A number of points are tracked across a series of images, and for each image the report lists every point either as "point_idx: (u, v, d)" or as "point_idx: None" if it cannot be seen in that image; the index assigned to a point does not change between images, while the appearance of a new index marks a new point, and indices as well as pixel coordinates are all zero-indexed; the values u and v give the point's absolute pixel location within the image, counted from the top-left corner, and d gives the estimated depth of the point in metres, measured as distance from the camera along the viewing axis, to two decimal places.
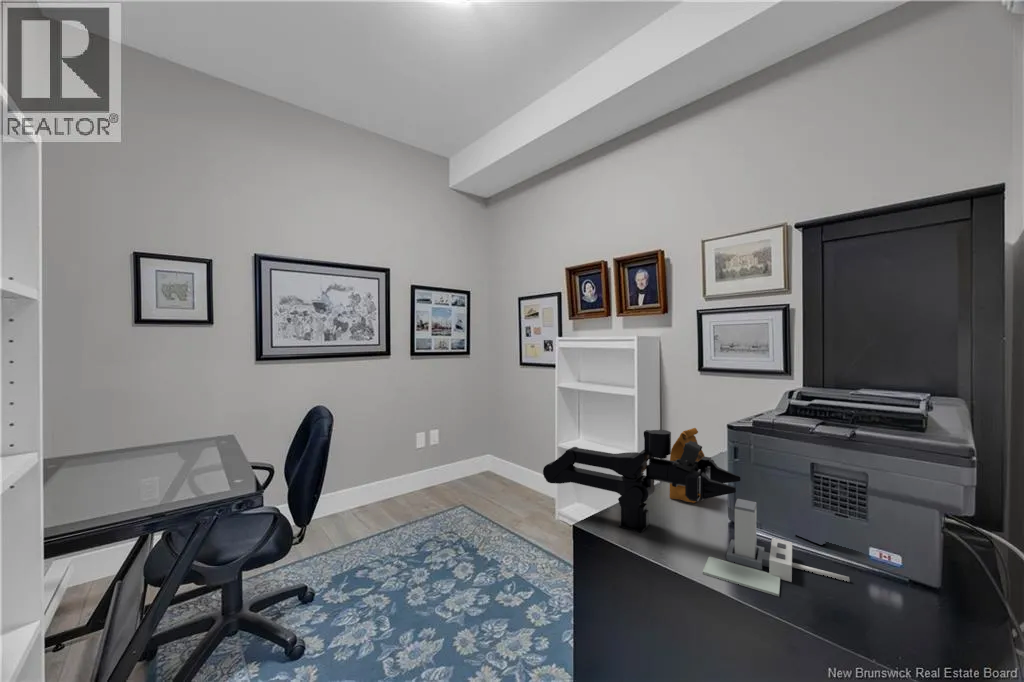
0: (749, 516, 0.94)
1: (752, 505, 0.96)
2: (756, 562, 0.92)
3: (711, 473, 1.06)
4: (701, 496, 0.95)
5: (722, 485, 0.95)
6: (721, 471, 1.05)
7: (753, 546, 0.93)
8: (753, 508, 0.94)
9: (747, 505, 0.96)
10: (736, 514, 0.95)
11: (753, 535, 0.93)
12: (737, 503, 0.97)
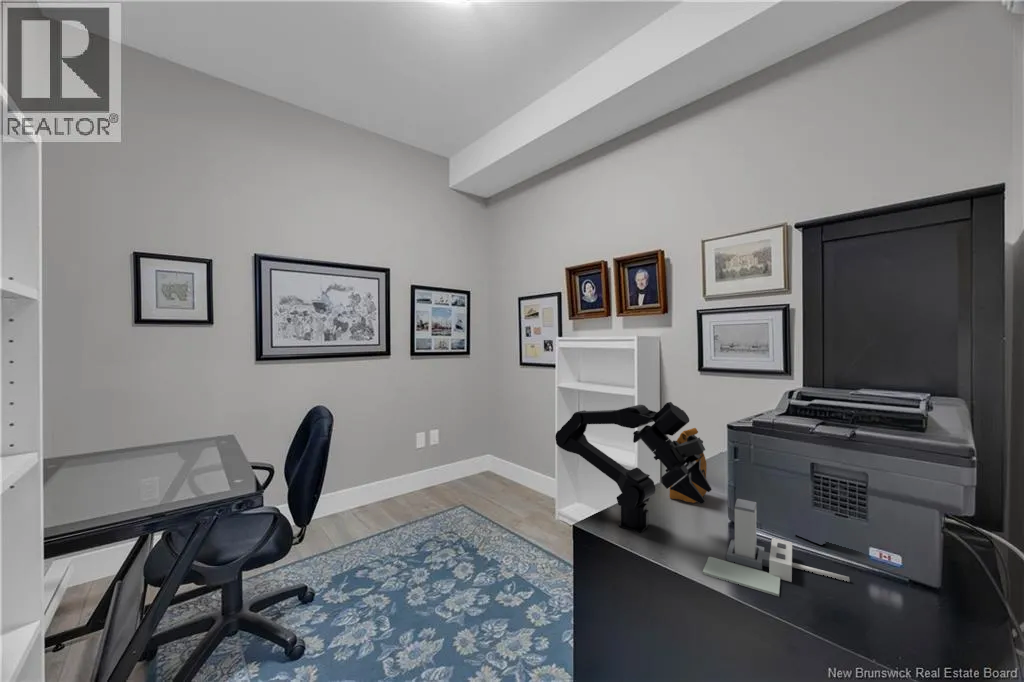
0: (749, 516, 0.94)
1: (752, 505, 0.96)
2: (756, 562, 0.92)
3: (690, 468, 1.08)
4: (673, 487, 0.98)
5: (696, 492, 0.98)
6: (700, 474, 1.07)
7: (753, 546, 0.93)
8: (753, 508, 0.94)
9: (747, 505, 0.96)
10: (736, 514, 0.95)
11: (753, 535, 0.93)
12: (737, 503, 0.97)
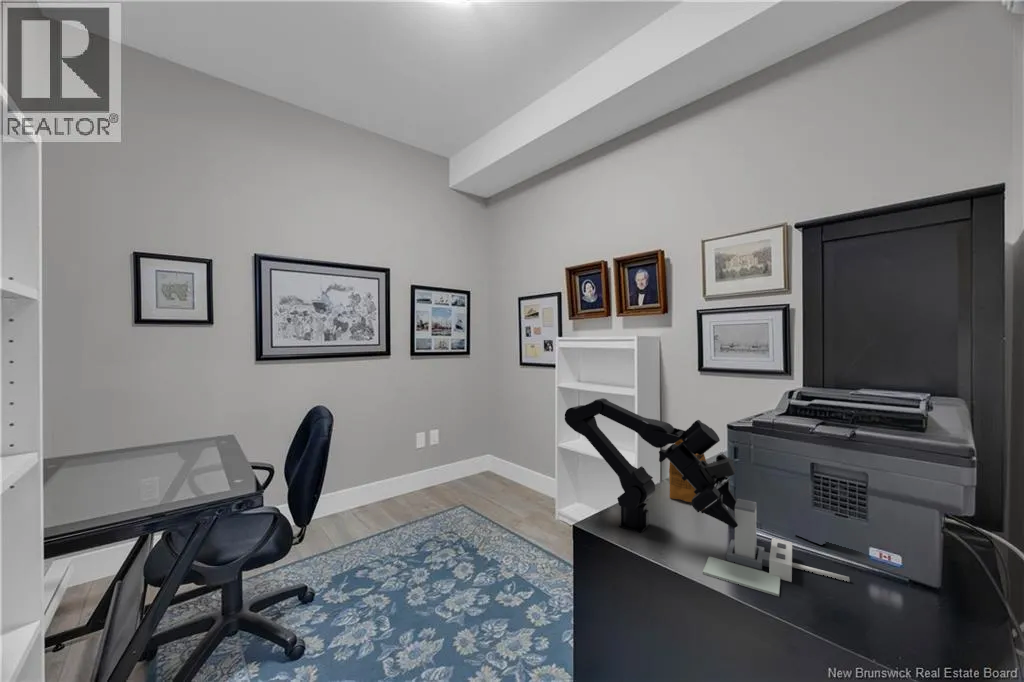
0: (749, 516, 0.94)
1: (752, 505, 0.96)
2: (756, 562, 0.92)
3: (719, 489, 1.04)
4: (704, 511, 0.94)
5: (729, 515, 0.94)
6: (730, 495, 1.03)
7: (753, 546, 0.93)
8: (753, 508, 0.94)
9: (747, 505, 0.96)
10: (736, 514, 0.95)
11: (753, 535, 0.93)
12: (737, 503, 0.97)
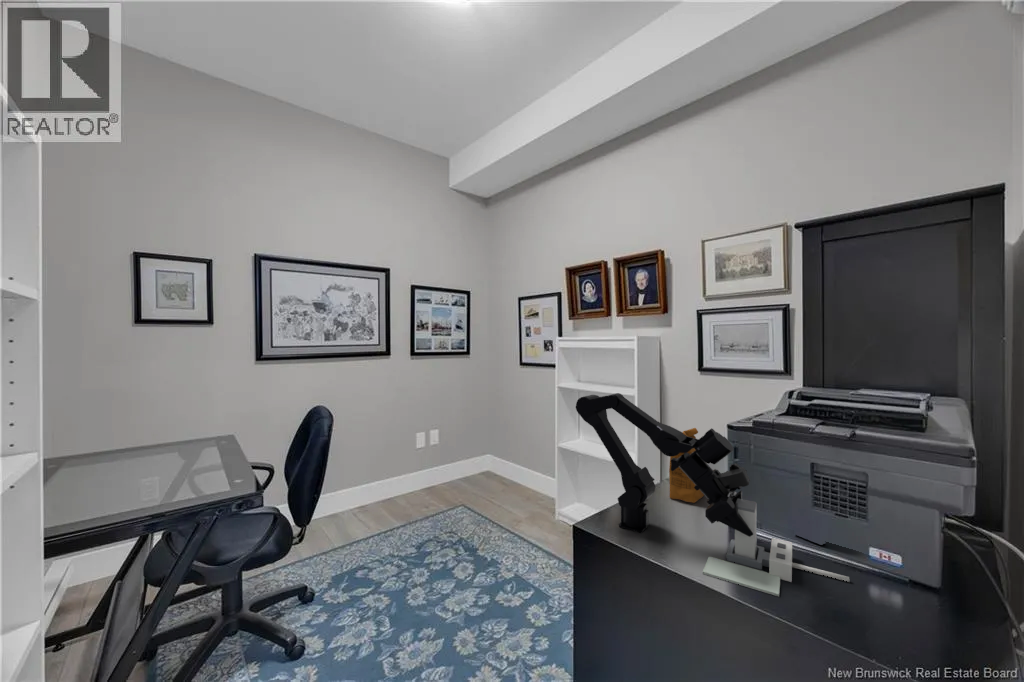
0: (749, 516, 0.94)
1: (752, 505, 0.96)
2: (756, 562, 0.92)
3: (731, 501, 1.01)
4: (719, 519, 0.94)
5: (744, 524, 0.93)
6: None
7: (753, 546, 0.93)
8: (753, 508, 0.94)
9: (747, 504, 0.96)
10: None
11: (753, 535, 0.93)
12: None
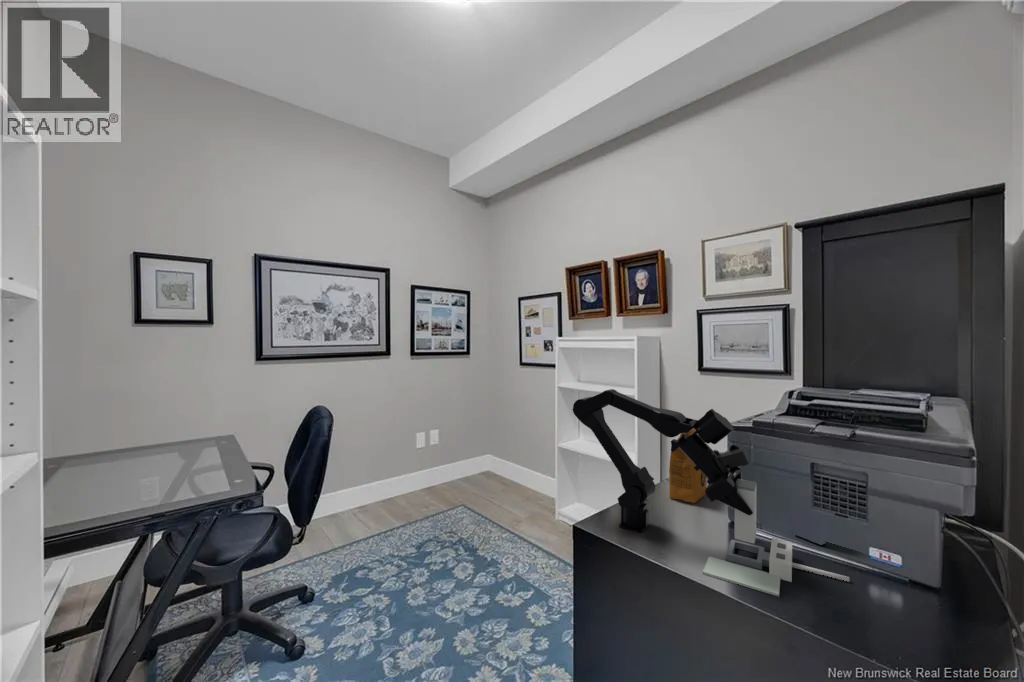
0: (749, 495, 0.94)
1: (752, 484, 0.96)
2: (756, 562, 0.92)
3: None
4: (719, 498, 0.94)
5: (744, 503, 0.93)
6: None
7: (753, 525, 0.93)
8: (753, 487, 0.94)
9: (747, 484, 0.96)
10: None
11: (753, 514, 0.93)
12: None
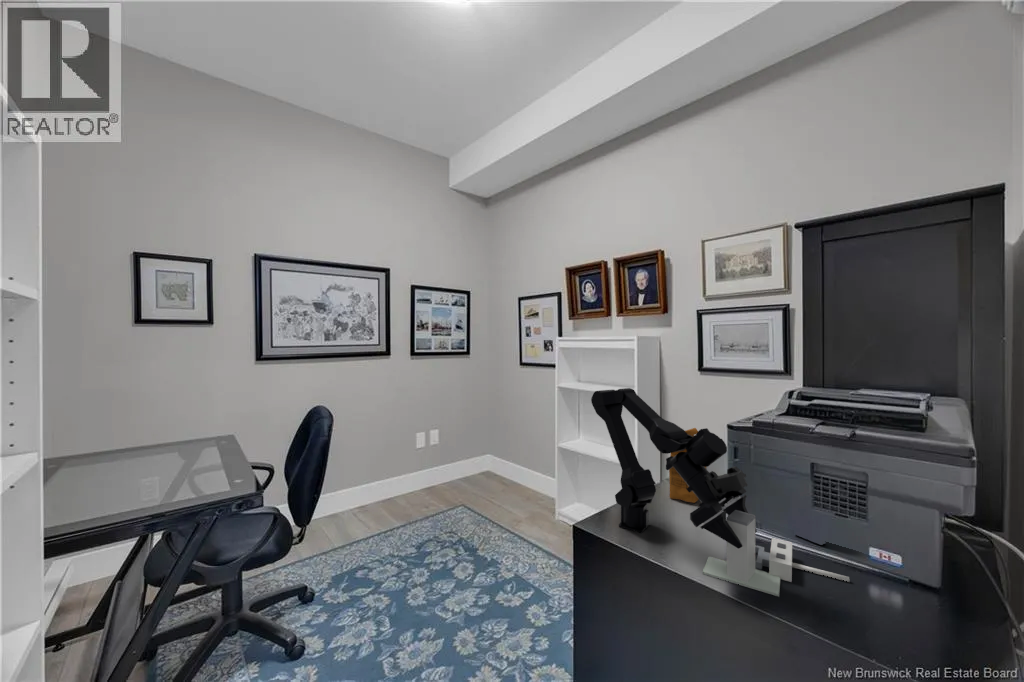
0: (741, 529, 0.86)
1: (748, 517, 0.88)
2: (756, 562, 0.92)
3: (733, 505, 0.95)
4: (703, 526, 0.87)
5: (732, 534, 0.85)
6: None
7: (746, 562, 0.86)
8: (747, 521, 0.86)
9: (742, 517, 0.88)
10: None
11: (746, 550, 0.86)
12: (731, 514, 0.90)
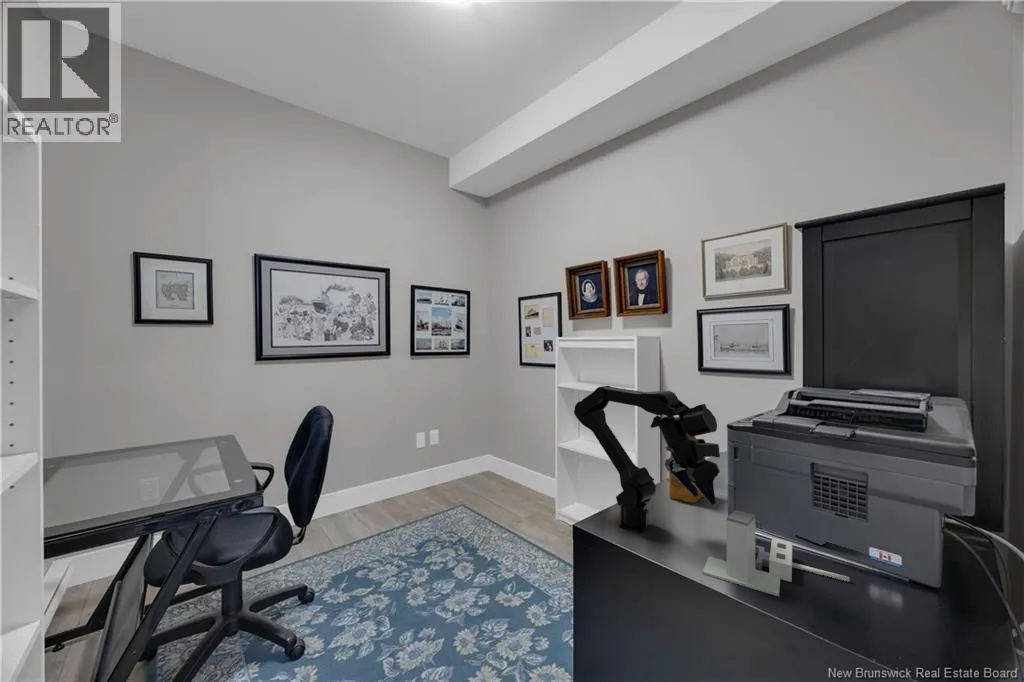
0: (741, 529, 0.86)
1: (748, 517, 0.88)
2: (756, 562, 0.92)
3: (684, 470, 1.07)
4: (700, 482, 0.94)
5: (713, 492, 0.96)
6: None
7: (746, 562, 0.86)
8: (747, 521, 0.86)
9: (742, 517, 0.88)
10: (728, 526, 0.88)
11: (746, 550, 0.86)
12: (731, 514, 0.90)
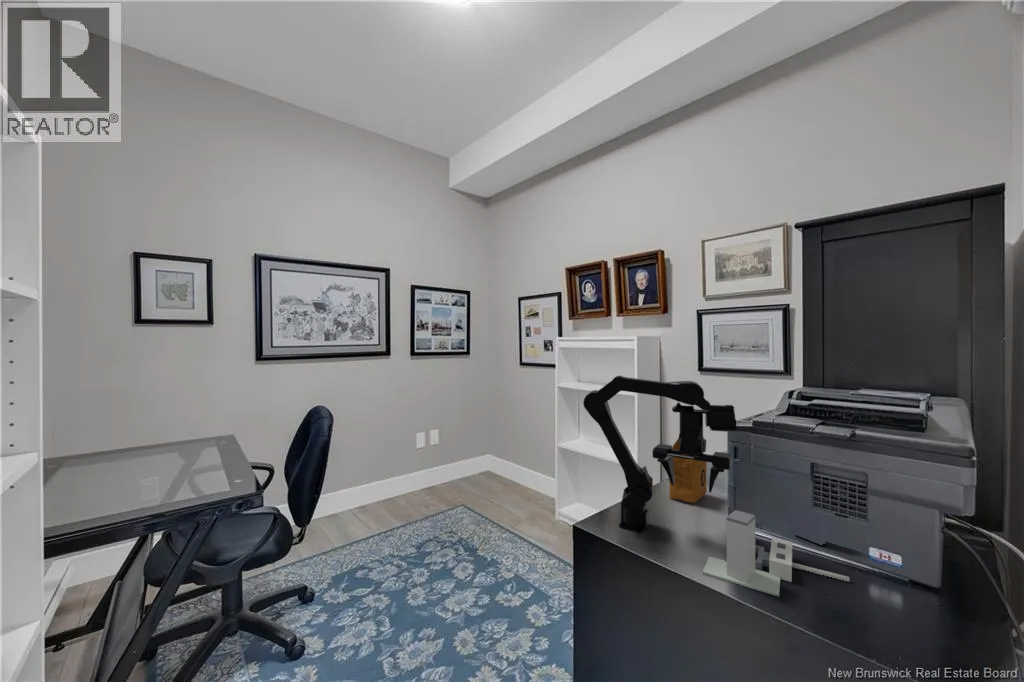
0: (741, 529, 0.86)
1: (748, 517, 0.88)
2: (756, 562, 0.92)
3: (670, 460, 1.11)
4: (724, 470, 1.02)
5: None
6: (673, 468, 1.12)
7: (746, 562, 0.86)
8: (747, 521, 0.86)
9: (742, 517, 0.88)
10: (728, 526, 0.88)
11: (746, 550, 0.86)
12: (731, 514, 0.90)
